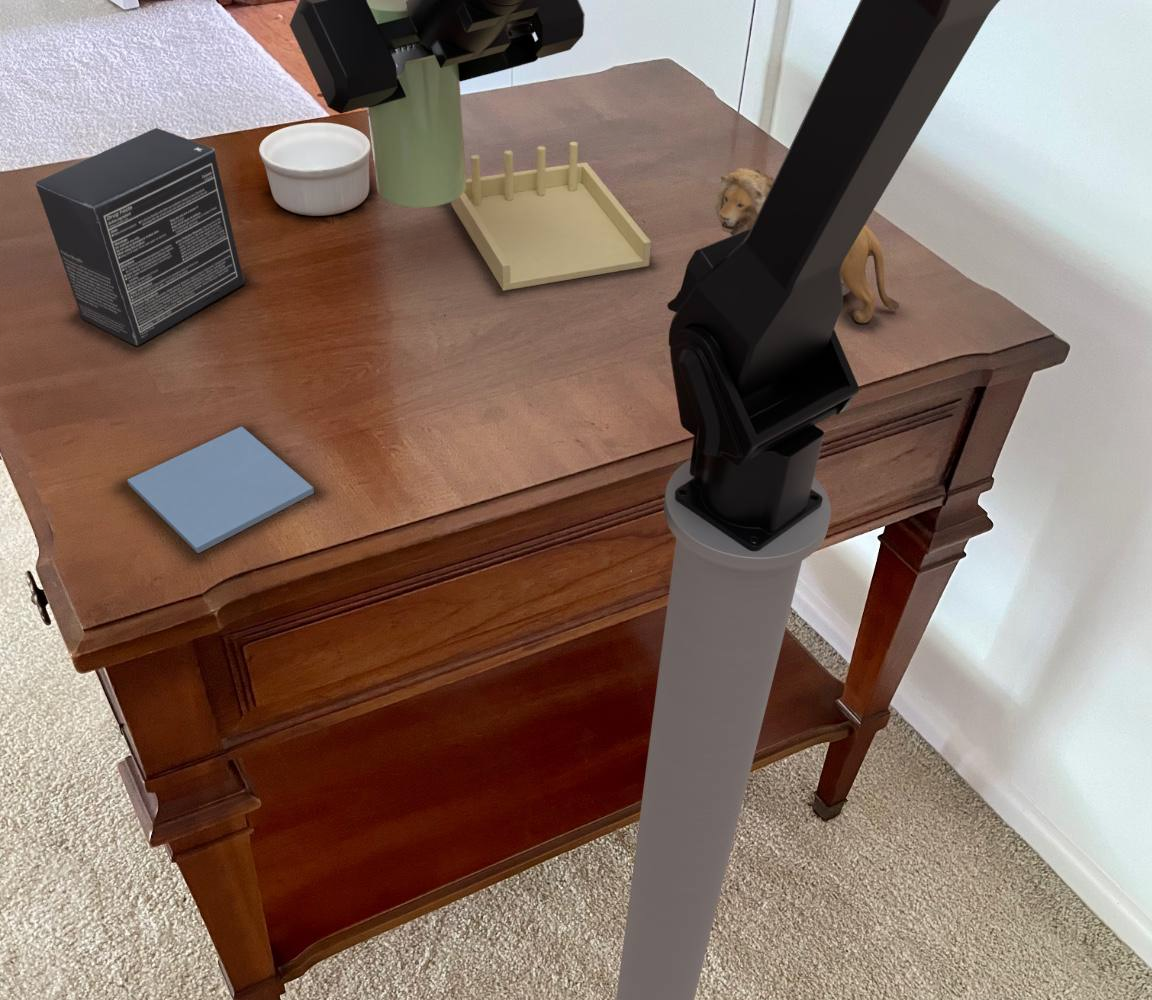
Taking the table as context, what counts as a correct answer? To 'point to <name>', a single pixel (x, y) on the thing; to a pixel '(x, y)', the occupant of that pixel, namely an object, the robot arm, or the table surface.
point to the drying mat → (220, 488)
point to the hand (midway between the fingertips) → (402, 89)
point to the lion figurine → (739, 213)
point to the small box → (143, 233)
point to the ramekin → (317, 167)
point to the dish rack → (548, 223)
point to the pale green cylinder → (418, 131)
